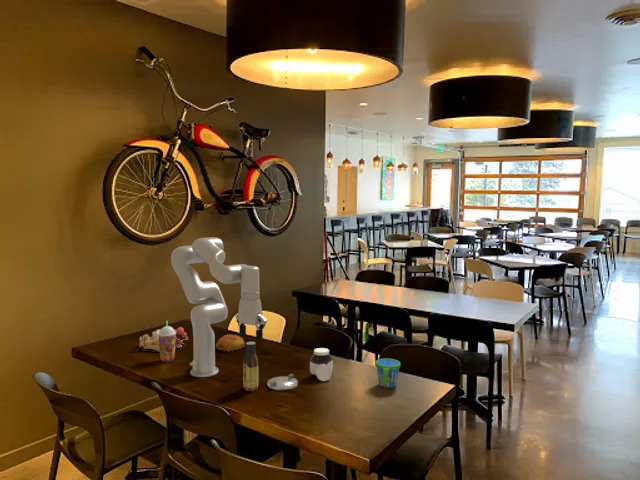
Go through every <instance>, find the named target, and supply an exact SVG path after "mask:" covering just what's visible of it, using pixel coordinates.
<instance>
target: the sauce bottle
mask: <svg viewBox="0 0 640 480" xmlns="http://www.w3.org/2000/svg"><path fill="white" fill-rule="evenodd" d="M242 363H243V364H242V372H243V373H242V381H243V382H242V384H243V389H244V390H245V392H255V391H257V390H258V388H259V358H258V355H257V354H256V342H255V341H248V342H246V343H245V355H244V358H243V361H242Z"/></svg>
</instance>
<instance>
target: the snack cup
mask: <svg viewBox="0 0 640 480" xmlns="http://www.w3.org/2000/svg"><path fill="white" fill-rule="evenodd" d="M375 367H376V373H377V379H378V380H377V381H378V385H379V386H380V387H382V388H385V389H392V388H395V387H396V386H397V383H398V378H399V373H400V368H401V362H400V361H399V360H397V359H394V358H389V357H386V358H385V357H384V358H379V359H377V360H376V361H375Z"/></svg>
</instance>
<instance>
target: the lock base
mask: <svg viewBox="0 0 640 480" xmlns="http://www.w3.org/2000/svg"><path fill="white" fill-rule="evenodd" d="M298 384H299V382H298V379H296V378H295V374H293V373H290V374H288V375H287V376H276V377H272V378H270V379H267V382H266V385H267V387H268V388H269V389H271V390H273V391H289V390H293V389H295V388H297V387H298Z"/></svg>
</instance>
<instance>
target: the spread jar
mask: <svg viewBox="0 0 640 480" xmlns="http://www.w3.org/2000/svg"><path fill="white" fill-rule="evenodd" d="M333 368H334V365H333V357H332V355H331V354H330V350H329V349H328V348H326V347H325V348H324V347H319V348H314V350H313V355H312V356H311V358H310V361H309V371H310V374H311V375H312V376H313V377H315V378H316V379H318V380H319V381H321V382H326V381H329V380H330V379H331V377H332V375H333V374H332V373H333V370H334V369H333Z"/></svg>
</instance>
